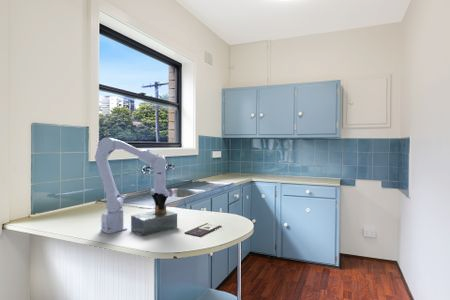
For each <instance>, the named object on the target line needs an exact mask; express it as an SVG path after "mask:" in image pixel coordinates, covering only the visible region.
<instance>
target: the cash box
mask: <svg viewBox="0 0 450 300" xmlns="http://www.w3.org/2000/svg"><path fill="white" fill-rule="evenodd" d="M130 226H131V227H130V228H131V231H132V232H134V233H137V234H139V235H141V236H143V237H146V236H150V235H153V234H158V233H162V232H165V231H171V230H173V229H177V228H178V213H177V212H173V211H170V210H167V209H166V213H165V214H160V215H155V210H152V211H149V212H143V213H139V214H132V215H130Z"/></svg>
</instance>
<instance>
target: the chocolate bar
mask: <svg viewBox="0 0 450 300" xmlns="http://www.w3.org/2000/svg"><path fill="white" fill-rule="evenodd" d="M221 226H222V225H219V224H213V223H208V222H206V223H204V224H202V225H199V226H196V227H194V228H192V229H189V230H187V231H185V232H184V235H189V236H193V237H194V236H195V237H198V238H201V237H203V236H206V235H207V234H210V233H211V232H213V231H216V230H218V229H220V228H222V227H221ZM219 227H220V228H219ZM217 228H218V229H217ZM215 229H216V230H215Z"/></svg>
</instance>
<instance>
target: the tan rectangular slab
mask: <svg viewBox="0 0 450 300" xmlns="http://www.w3.org/2000/svg"><path fill="white" fill-rule="evenodd" d="M166 210H167V204H165V205H164V209H162V210H159V205H155V206H154V211H155V215H160V214H165V213H166Z"/></svg>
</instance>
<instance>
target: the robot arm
mask: <svg viewBox="0 0 450 300" xmlns="http://www.w3.org/2000/svg"><path fill="white" fill-rule="evenodd" d="M115 150H116V151H117V150H118V151H120V150H123V151H125V152H127V153H129V154H132V155H133V156H137V157H138V160H139V161H141V162H142V163H145V164H147V165H149V166H153V168H154V169H153V188H150V194H151V197H152V199H153V201H154V205H155V206H156V205H159V210H162V209H164V205H166V202H167V199H168V197H170V196H171V192H170V191H168V189H167V183H166V182H167V179H166V178H167V174H166V173H167V172H166V165H167V161H166V158H165V157H163V156H161V155H159V154H158V153H157V154H156V153H154V152H152V151H150V149H139V148H137V147H135V146H133V145H131V144H128V143H126V142H125V141H122V140H119V139H116V138H113V137H103V138H102V139H101V140H100V141H99V142H98V143H97V148H96V152H95V154H94V155H95V156H94V159H95V163H96V166H97V169H98V173H99V175H100V178H101V182H102V185H103V188H104V191H105V199H106V205H105V206H106V207H105V208H106V212H104V213H101V217H100V219H101V220H100V223H101V229H100V231H101V232H104V233H105V234H112V233H113V234H114V233H117V232H122V231H126V230H128V227H125V226H124V208H123V206H124V203H125V200H124V198H123V196H122V195H121V194H120V191H118V189H117V184H116V182H115V178H114V176H113V173H112V169H111V165H110V163H109V159H108V158H109V157H110V155H111V154H112V153H113V152H114V151H115Z"/></svg>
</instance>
